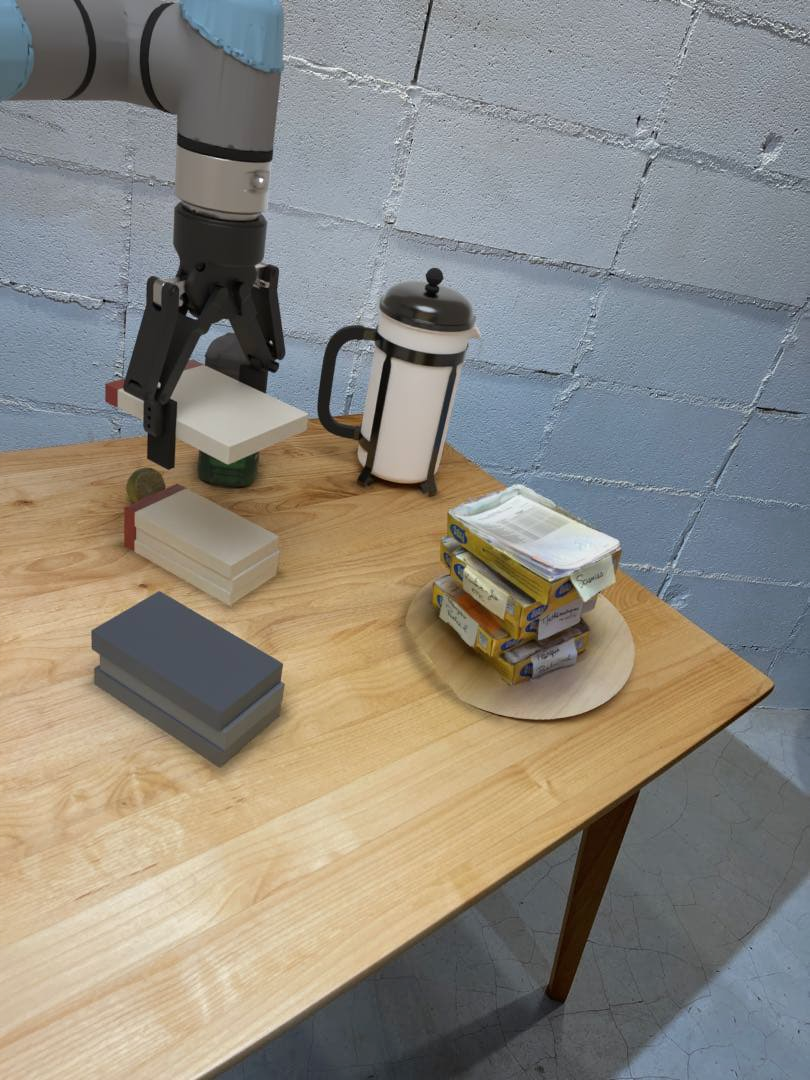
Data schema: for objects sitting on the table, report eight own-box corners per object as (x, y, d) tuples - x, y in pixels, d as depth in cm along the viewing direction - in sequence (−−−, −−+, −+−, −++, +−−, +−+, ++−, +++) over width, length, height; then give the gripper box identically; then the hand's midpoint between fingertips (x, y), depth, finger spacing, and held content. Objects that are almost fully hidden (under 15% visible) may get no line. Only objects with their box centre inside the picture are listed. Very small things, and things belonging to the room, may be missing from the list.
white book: (105, 401, 75) (104, 383, 74) (192, 375, 84) (192, 359, 83) (227, 465, 70) (229, 446, 69) (307, 430, 78) (309, 413, 77)
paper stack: (467, 746, 76) (512, 606, 67) (372, 588, 94) (397, 461, 86) (669, 704, 87) (730, 578, 78) (548, 569, 105) (586, 454, 96)
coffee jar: (254, 494, 107) (267, 360, 97) (192, 485, 106) (200, 350, 96) (261, 460, 115) (274, 333, 105) (204, 452, 114) (212, 323, 104)
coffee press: (393, 440, 128) (430, 246, 113) (465, 487, 120) (517, 283, 104) (305, 461, 117) (333, 249, 101) (378, 515, 108) (421, 292, 93)
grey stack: (92, 686, 74) (90, 630, 70) (158, 643, 80) (160, 590, 77) (219, 771, 69) (224, 715, 65) (280, 718, 75) (287, 664, 71)
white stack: (123, 547, 92) (123, 507, 89) (175, 521, 98) (177, 483, 96) (229, 608, 87) (232, 567, 84) (277, 576, 93) (282, 537, 90)
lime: (165, 496, 103) (166, 461, 100) (162, 517, 99) (163, 481, 96) (128, 494, 102) (128, 458, 99) (124, 514, 98) (124, 478, 95)
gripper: (144, 232, 57) (140, 501, 68) (341, 211, 75) (311, 427, 86) (71, 203, 59) (78, 466, 71) (278, 189, 77) (257, 401, 89)
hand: (206, 445), depth 79 cm, fingers closed on white book, 11 cm apart
